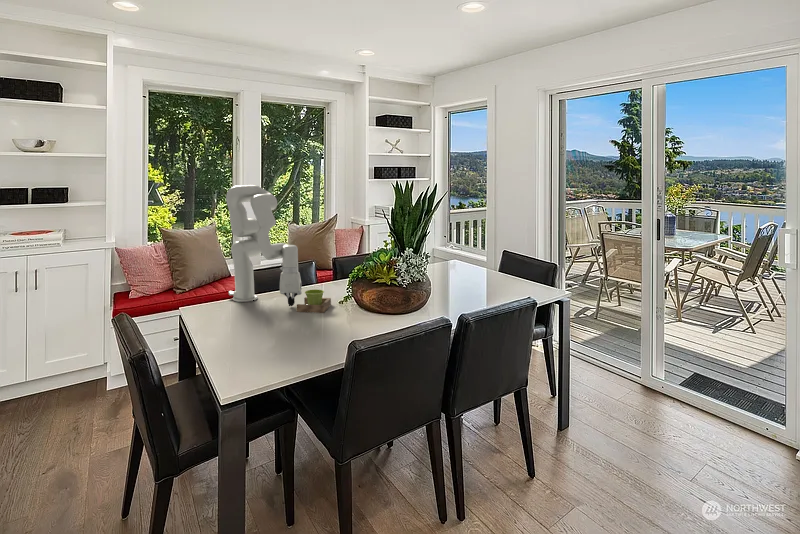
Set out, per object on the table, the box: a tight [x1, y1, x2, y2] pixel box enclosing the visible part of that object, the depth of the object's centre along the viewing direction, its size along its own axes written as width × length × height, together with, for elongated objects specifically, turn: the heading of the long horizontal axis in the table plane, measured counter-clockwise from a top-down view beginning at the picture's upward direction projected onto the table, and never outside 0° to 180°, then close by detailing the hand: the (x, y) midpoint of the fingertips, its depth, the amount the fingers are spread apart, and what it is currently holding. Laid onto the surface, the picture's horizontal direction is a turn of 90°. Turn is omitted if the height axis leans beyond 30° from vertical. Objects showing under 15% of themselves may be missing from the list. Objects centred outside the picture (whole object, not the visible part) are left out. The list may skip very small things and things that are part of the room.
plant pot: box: [304, 289, 325, 305], centre depth 242 cm, size 9×9×9 cm
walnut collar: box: [296, 296, 332, 314], centre depth 242 cm, size 14×15×4 cm
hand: (291, 305), depth 244 cm, fingers closed
